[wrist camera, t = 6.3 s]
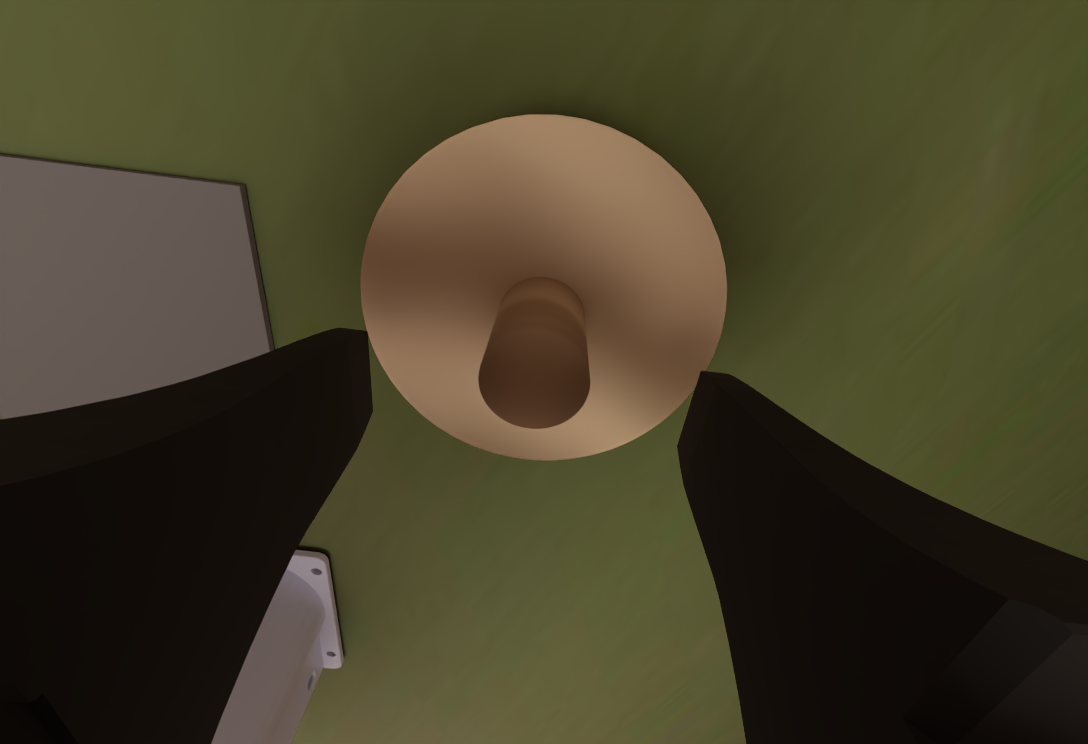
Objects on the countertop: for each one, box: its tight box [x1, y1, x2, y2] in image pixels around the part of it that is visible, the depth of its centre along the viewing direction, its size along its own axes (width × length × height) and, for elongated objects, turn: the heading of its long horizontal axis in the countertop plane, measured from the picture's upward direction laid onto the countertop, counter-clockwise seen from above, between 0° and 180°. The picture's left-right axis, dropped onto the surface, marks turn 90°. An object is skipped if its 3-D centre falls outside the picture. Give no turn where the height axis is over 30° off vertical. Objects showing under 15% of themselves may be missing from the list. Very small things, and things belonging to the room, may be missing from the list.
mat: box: [0, 154, 274, 419], centre depth 18 cm, size 12×12×1 cm
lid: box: [360, 114, 727, 460], centre depth 12 cm, size 10×10×4 cm
